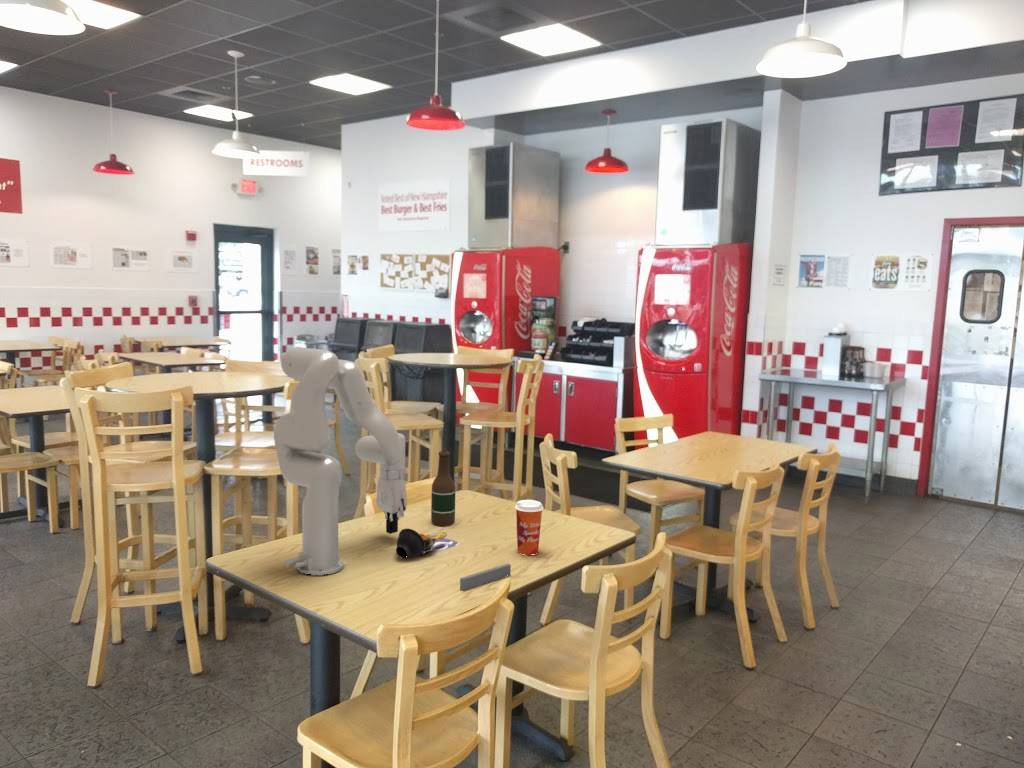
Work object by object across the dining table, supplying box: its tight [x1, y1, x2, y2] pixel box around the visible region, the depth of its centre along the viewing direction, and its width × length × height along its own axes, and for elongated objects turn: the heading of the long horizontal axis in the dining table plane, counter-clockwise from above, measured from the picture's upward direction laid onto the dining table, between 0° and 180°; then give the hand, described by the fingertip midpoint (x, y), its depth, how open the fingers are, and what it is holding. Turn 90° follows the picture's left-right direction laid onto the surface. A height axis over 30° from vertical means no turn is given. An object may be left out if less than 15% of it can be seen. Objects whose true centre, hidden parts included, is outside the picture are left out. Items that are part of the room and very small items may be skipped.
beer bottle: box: [430, 450, 456, 528], centre depth 248 cm, size 8×8×24 cm
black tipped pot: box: [395, 528, 448, 560], centre depth 222 cm, size 9×11×18 cm
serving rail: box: [459, 563, 512, 591], centre depth 202 cm, size 17×1×3 cm, turn 133°
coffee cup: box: [515, 499, 544, 555], centre depth 224 cm, size 8×8×15 cm
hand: (391, 532), depth 233 cm, fingers closed
